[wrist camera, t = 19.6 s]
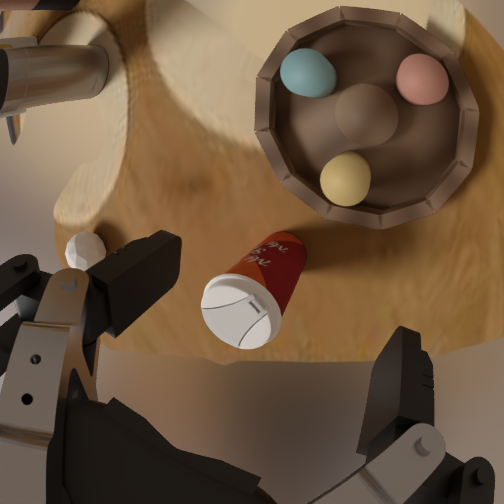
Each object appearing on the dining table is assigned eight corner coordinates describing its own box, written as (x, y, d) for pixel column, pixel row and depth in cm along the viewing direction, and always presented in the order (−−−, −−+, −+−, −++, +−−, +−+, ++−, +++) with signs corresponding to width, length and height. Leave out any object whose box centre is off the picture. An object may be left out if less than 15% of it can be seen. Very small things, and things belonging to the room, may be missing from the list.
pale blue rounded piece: (287, 83, 28) (271, 78, 24) (310, 50, 25) (297, 39, 21) (322, 106, 28) (312, 105, 23) (346, 73, 25) (340, 65, 21)
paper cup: (286, 210, 35) (231, 264, 24) (328, 260, 36) (294, 335, 24) (243, 246, 40) (181, 305, 28) (281, 290, 40) (235, 363, 28)
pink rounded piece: (387, 86, 24) (388, 80, 20) (410, 55, 22) (415, 43, 17) (422, 115, 24) (430, 114, 20) (446, 83, 21) (457, 78, 17)
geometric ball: (116, 247, 55) (101, 285, 51) (81, 236, 54) (66, 272, 50) (108, 230, 48) (91, 272, 45) (71, 218, 47) (52, 258, 44)
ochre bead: (335, 145, 29) (327, 150, 25) (376, 159, 28) (376, 167, 24) (324, 184, 31) (314, 196, 27) (363, 198, 30) (360, 213, 26)
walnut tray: (232, 137, 34) (219, 139, 31) (332, -16, 21) (327, -27, 19) (383, 255, 32) (382, 267, 30) (503, 111, 20) (514, 112, 18)
